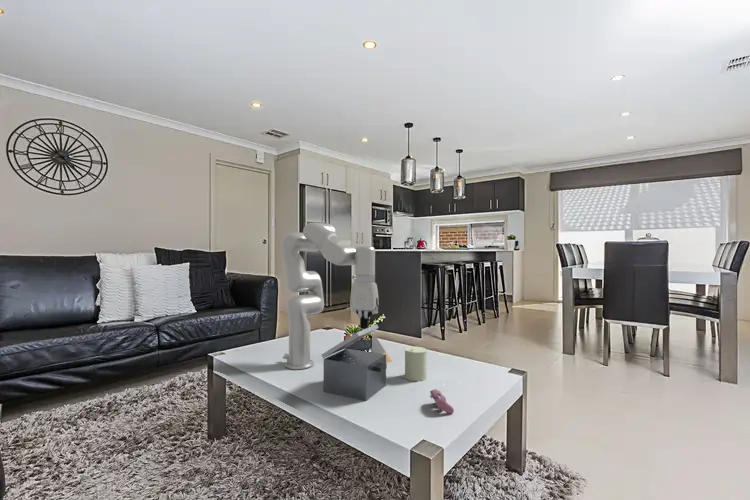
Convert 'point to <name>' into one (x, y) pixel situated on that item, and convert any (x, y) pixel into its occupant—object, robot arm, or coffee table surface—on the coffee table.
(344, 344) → the lid
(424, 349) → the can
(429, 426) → the coffee table surface
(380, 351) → the sandwich container
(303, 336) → the robot arm
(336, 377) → the grey storage box
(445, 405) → the pink toy animal
